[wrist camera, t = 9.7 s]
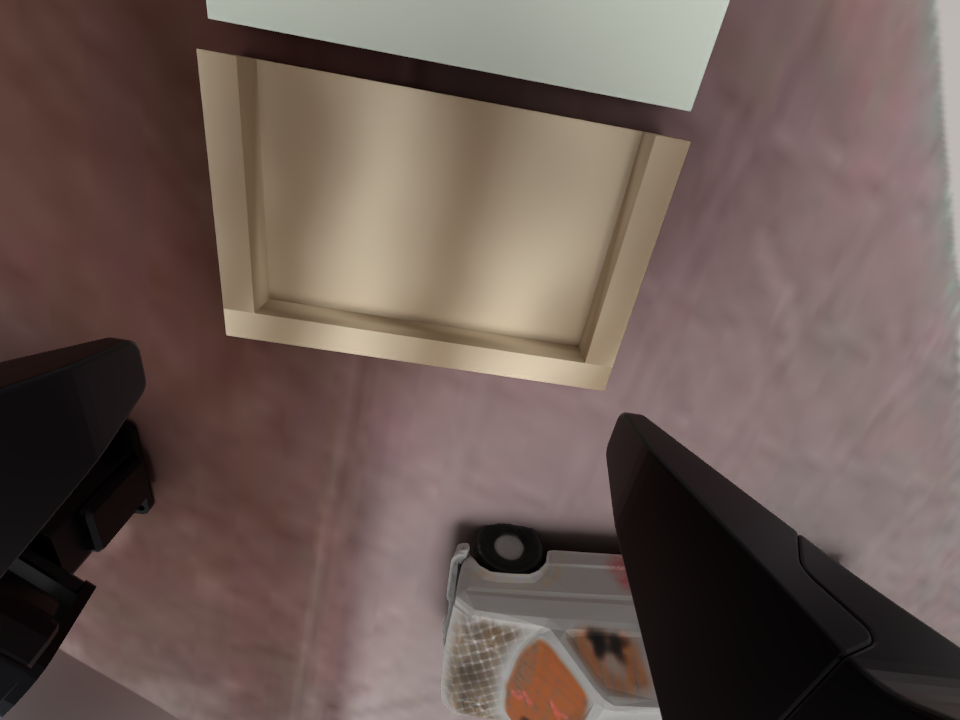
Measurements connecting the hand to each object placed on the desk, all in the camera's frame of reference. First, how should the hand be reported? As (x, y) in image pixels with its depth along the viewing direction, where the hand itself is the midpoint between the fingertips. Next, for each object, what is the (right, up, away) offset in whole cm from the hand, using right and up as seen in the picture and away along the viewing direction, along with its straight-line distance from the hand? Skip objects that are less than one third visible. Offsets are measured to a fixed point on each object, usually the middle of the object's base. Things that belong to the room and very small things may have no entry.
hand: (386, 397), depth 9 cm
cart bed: (0, +6, +11) cm, 13 cm away
